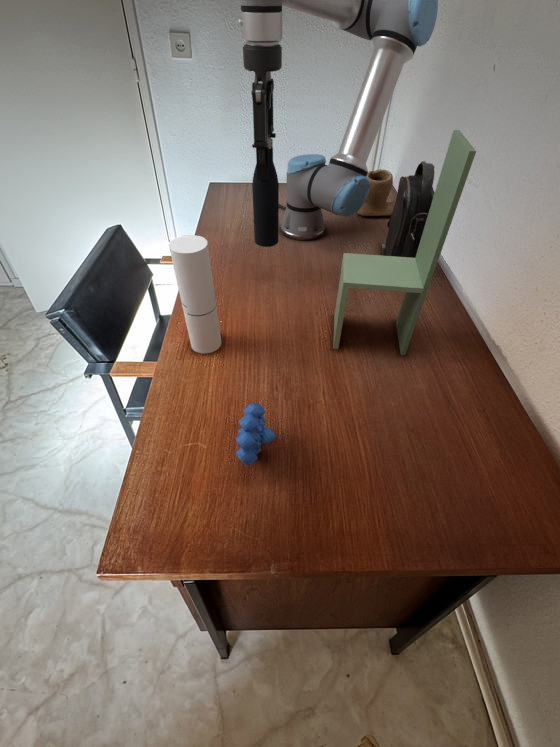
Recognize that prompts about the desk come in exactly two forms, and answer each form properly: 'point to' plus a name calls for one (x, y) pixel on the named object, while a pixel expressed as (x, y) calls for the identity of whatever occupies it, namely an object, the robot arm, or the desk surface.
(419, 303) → the green miniature chair
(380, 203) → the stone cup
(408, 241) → the shoulder bag
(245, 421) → the grapes
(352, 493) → the desk surface
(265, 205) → the wine bottle
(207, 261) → the cylindrical container
